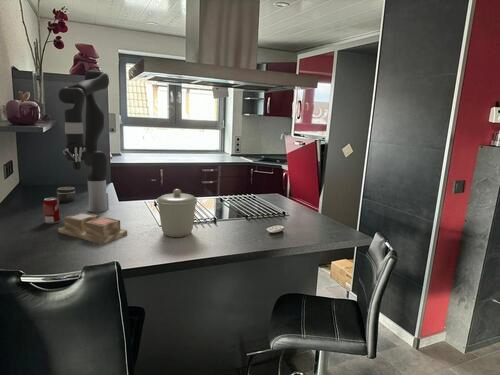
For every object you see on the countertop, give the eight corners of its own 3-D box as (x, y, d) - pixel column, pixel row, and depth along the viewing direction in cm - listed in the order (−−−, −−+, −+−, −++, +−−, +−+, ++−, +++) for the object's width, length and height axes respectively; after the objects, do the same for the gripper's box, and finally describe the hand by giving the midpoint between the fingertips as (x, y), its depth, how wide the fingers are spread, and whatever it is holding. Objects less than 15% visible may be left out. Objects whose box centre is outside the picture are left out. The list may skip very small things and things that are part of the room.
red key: (104, 224, 159) (103, 218, 159) (115, 227, 156) (114, 220, 155) (91, 228, 153) (90, 221, 152) (102, 231, 150) (101, 224, 149)
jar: (54, 200, 214) (53, 188, 213) (70, 197, 223) (69, 186, 221) (62, 203, 209) (62, 190, 207) (79, 200, 217) (78, 188, 215)
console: (85, 224, 171) (84, 210, 169) (127, 234, 158) (126, 219, 157) (58, 232, 159) (57, 217, 157) (101, 244, 146) (100, 228, 145)
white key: (83, 219, 165) (82, 213, 165) (93, 222, 162) (93, 215, 162) (69, 223, 159) (69, 217, 159) (80, 226, 156) (79, 219, 156)
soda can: (53, 224, 169) (51, 200, 166) (41, 223, 170) (39, 199, 168) (63, 221, 175) (61, 197, 173) (51, 219, 177) (49, 196, 174)
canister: (178, 243, 150) (177, 195, 145) (148, 235, 159) (147, 189, 155) (205, 232, 165) (205, 188, 160) (176, 225, 174) (176, 183, 170)
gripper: (81, 131, 169) (83, 167, 173) (55, 132, 158) (58, 170, 161) (92, 132, 166) (94, 168, 170) (66, 133, 155) (69, 172, 158)
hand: (76, 169), depth 165 cm, fingers closed
